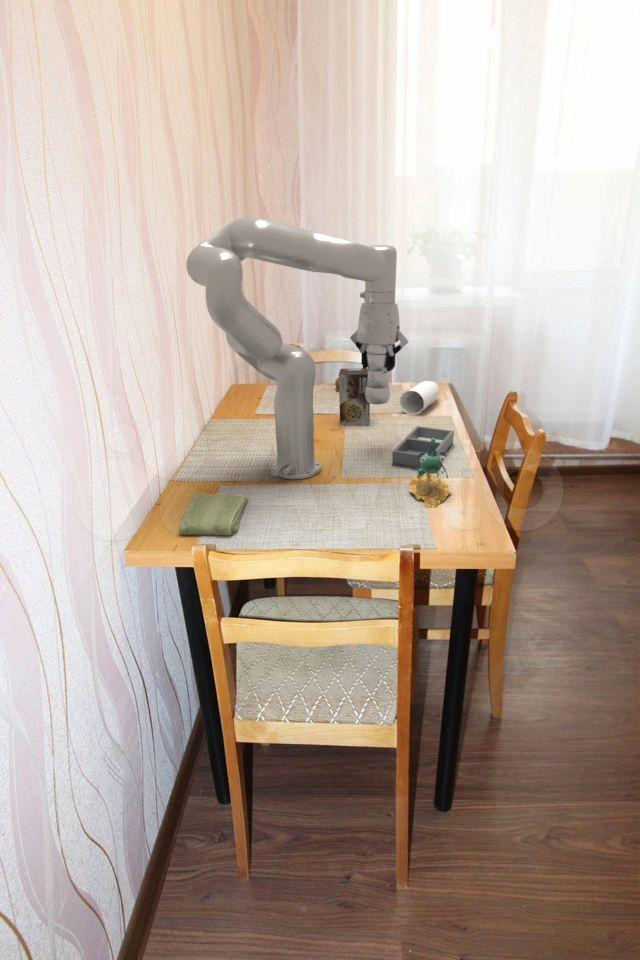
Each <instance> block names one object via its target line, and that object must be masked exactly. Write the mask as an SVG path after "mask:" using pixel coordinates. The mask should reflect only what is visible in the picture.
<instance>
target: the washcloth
mask: <svg viewBox="0 0 640 960" xmlns="http://www.w3.org/2000/svg"><path fill="white" fill-rule="evenodd" d="M190 501H191V502H189V505H188V506H187V508H186V510H185V511H184V514H183V515H182V517H181V519H180V523H179V526H178V532H179V534H180V535H183V536H184V535H185V536H186V535H187V536H188V535H194V536H203V535H214V536H219V535H220V536H227V537H228V536H229V537H230V536H232V535H234V534H235V533H236V532H237V531H238V529H239V526H240V521H241V517H242V514H243V513H244V509H245V505H246V503H247V501H249V498H248V497H247V496H245V495H243V494H230V493H223V492H215V493H206V492H199V493H196V494H195V496H194V497H192V498H191V500H190Z"/></svg>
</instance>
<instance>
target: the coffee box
mask: <svg viewBox="0 0 640 960" xmlns="http://www.w3.org/2000/svg"><path fill="white" fill-rule="evenodd" d="M367 377H368V368H366V369H363V368H340V370H339V373H338V378H339V391H338V393H339V395H338V398H339V400H338V402H339V426H344V427H345V426H346V427H347V426H357V427H358V426H370V423H371V422H370V421H371V415H370V411H371V410H370V409H371V406H370V403H368V402H367V400H366V398H365V390H366V386H367Z"/></svg>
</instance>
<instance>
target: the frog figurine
mask: <svg viewBox="0 0 640 960" xmlns="http://www.w3.org/2000/svg"><path fill="white" fill-rule="evenodd" d="M441 454H443V455H444V456H443V455H442V456H439V455H438V454H437V450H436V451H435V438H432V439H431V450H430V451H429V450H427V454H425V453H421V454H419V455H418V458H419V457H420V456H421V455H424V456H423V457H420V460H419V461H420V463H421V464H420V465H421V466H422V467H421V468H420V469H419V466H420V465H419V462H418V467H417V470H416V472H417V475H416V476H413V477H412V479H411V481H410V483H409V492H410V493H412V494H413V495H414V497H415V498H416V500H418V501H419V500H422V501H423V504H424V506H425V507H426V508H433V509H435V508H438V505H440V504H442V503H443V502H445V501H446V498H447V497H449V495H450V494H452V491H450V490H449V485H448V482H446V481H445V480H442V479H441V478H439V475H440V471H441V475H443V474H444V473H445V475H446V478H447V479H449V475H448V473H447V469H446V467H444V465H443V463H444V462H445V461H446V457H447V453H446V454H445V453H443V452H440V455H441ZM441 469H442V470H441ZM435 474H436V475H437V476H436V475H435Z"/></svg>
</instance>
